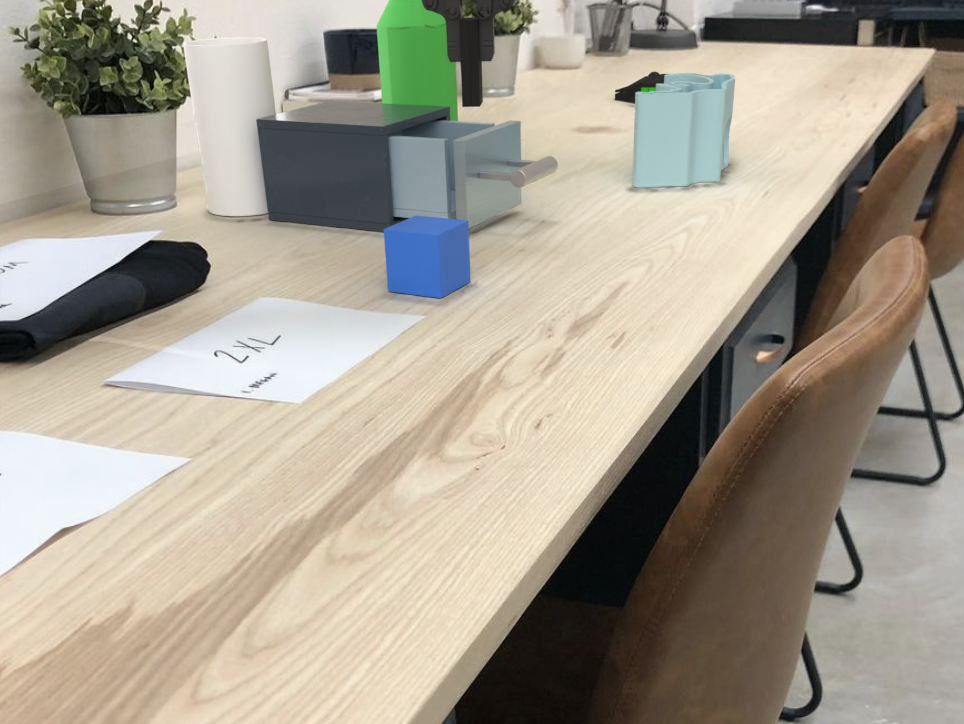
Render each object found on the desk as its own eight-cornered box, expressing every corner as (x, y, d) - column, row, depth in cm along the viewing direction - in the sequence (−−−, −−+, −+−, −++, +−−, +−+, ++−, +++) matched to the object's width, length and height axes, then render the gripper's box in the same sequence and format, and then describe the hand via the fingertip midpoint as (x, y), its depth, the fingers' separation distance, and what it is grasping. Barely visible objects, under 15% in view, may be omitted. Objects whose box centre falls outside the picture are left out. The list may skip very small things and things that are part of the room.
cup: (239, 196, 123) (217, 36, 115) (301, 202, 120) (283, 37, 112) (192, 213, 117) (165, 44, 108) (256, 219, 113) (233, 46, 105)
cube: (387, 291, 90) (383, 229, 88) (419, 275, 94) (415, 215, 91) (441, 298, 88) (437, 234, 86) (471, 282, 92) (468, 220, 89)
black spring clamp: (680, 110, 166) (682, 81, 164) (600, 100, 177) (601, 73, 175) (728, 101, 172) (730, 73, 170) (648, 92, 183) (649, 65, 181)
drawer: (567, 207, 110) (567, 123, 106) (515, 234, 101) (514, 143, 97) (407, 193, 118) (402, 114, 114) (347, 217, 109) (339, 132, 105)
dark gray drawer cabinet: (454, 205, 116) (450, 106, 111) (390, 232, 107) (382, 126, 102) (338, 194, 122) (329, 100, 118) (268, 220, 113) (255, 119, 108)
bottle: (473, 164, 135) (466, -75, 122) (432, 177, 129) (419, -73, 116) (415, 158, 139) (401, -73, 126) (372, 171, 133) (353, -71, 120)
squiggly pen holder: (722, 189, 119) (729, 94, 114) (630, 187, 121) (633, 94, 116) (730, 157, 134) (737, 72, 129) (648, 156, 136) (651, 73, 131)
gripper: (366, -242, 79) (389, 112, 91) (548, -251, 78) (547, 110, 90) (383, -231, 86) (403, 99, 98) (552, -238, 85) (551, 96, 97)
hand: (472, 104), depth 94 cm, fingers closed
